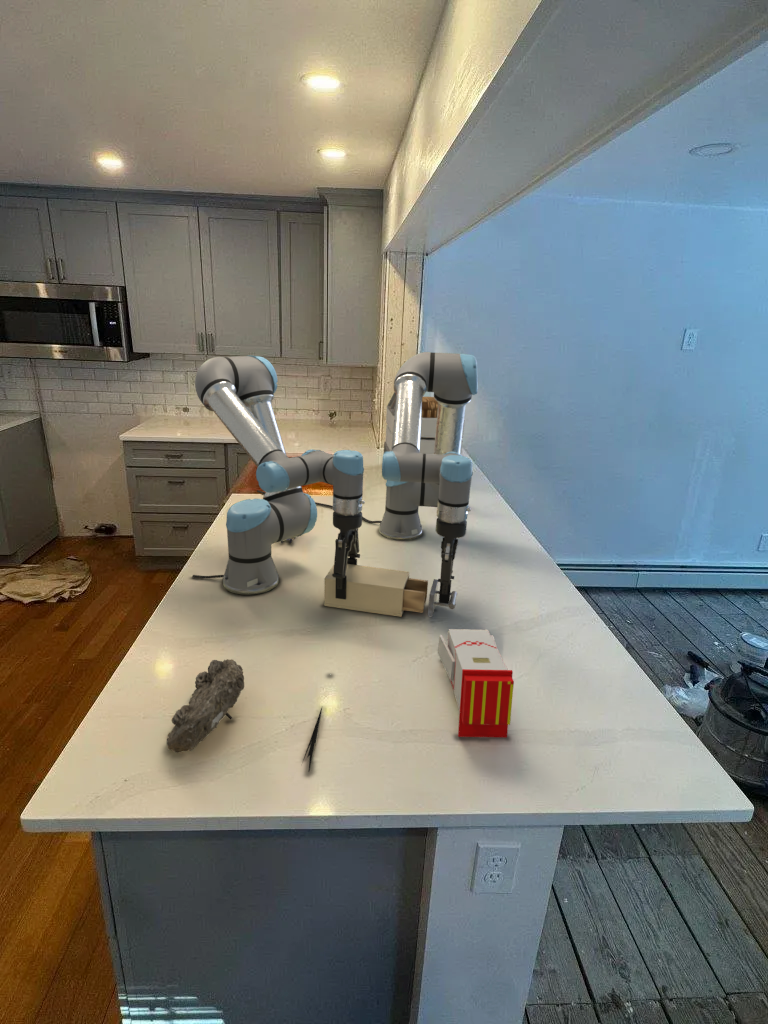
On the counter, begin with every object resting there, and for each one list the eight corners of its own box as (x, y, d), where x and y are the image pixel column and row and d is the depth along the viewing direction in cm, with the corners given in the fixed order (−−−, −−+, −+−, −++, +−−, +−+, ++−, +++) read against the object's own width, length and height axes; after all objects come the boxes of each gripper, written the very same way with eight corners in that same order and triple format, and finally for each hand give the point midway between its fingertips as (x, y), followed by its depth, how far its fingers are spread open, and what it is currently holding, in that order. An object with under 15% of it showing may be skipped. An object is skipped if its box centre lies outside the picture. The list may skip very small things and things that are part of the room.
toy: (488, 613, 130) (523, 677, 101) (484, 667, 133) (517, 744, 104) (435, 612, 130) (455, 676, 101) (432, 666, 133) (451, 743, 103)
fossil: (192, 660, 117) (244, 628, 112) (224, 691, 120) (276, 661, 115) (142, 746, 98) (202, 712, 93) (182, 779, 101) (242, 748, 96)
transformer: (382, 463, 289) (386, 382, 275) (445, 464, 293) (451, 384, 279) (390, 482, 257) (394, 392, 243) (460, 483, 261) (468, 394, 247)
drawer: (456, 603, 152) (458, 582, 150) (453, 619, 144) (455, 598, 142) (366, 590, 157) (366, 570, 154) (358, 606, 148) (358, 585, 146)
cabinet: (407, 598, 155) (409, 571, 153) (401, 616, 146) (403, 588, 143) (335, 588, 159) (335, 562, 156) (324, 605, 150) (324, 578, 147)
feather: (331, 679, 122) (336, 673, 122) (307, 777, 96) (313, 769, 95) (324, 675, 122) (329, 669, 121) (298, 772, 95) (304, 764, 95)
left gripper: (350, 528, 134) (348, 611, 141) (371, 499, 155) (369, 572, 162) (319, 525, 135) (320, 607, 143) (345, 496, 156) (344, 569, 164)
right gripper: (465, 530, 133) (456, 617, 141) (468, 511, 145) (460, 593, 153) (433, 526, 135) (426, 613, 143) (439, 508, 147) (432, 589, 155)
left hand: (346, 588), depth 153 cm, fingers closed on cabinet, 10 cm apart
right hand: (443, 602), depth 148 cm, fingers closed
